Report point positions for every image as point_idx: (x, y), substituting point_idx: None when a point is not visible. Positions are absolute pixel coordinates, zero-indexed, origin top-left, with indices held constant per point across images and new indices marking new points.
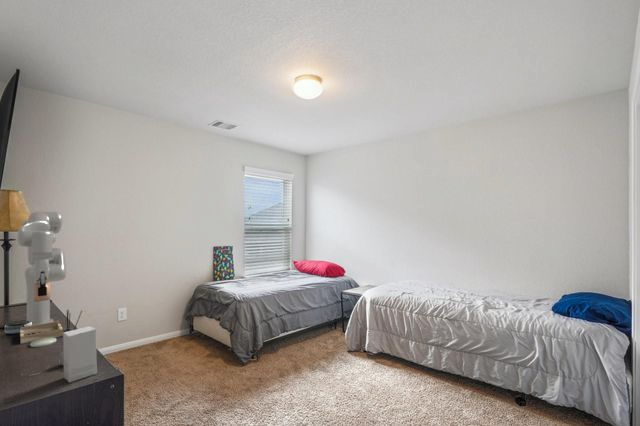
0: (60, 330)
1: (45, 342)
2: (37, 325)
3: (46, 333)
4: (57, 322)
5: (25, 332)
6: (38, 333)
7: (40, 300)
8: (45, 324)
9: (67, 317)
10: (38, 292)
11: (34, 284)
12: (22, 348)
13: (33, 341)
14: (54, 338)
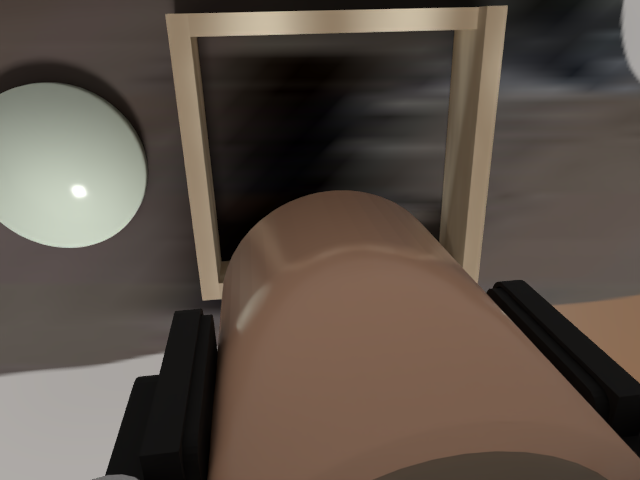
0: (200, 282)
1: (3, 182)
2: (473, 138)
3: (191, 195)
4: None
5: (462, 47)
6: (199, 144)
7: (223, 292)
8: (465, 192)
9: None
10: (164, 365)
11: (347, 448)
12: (11, 30)
13: (104, 105)
14: (92, 236)
